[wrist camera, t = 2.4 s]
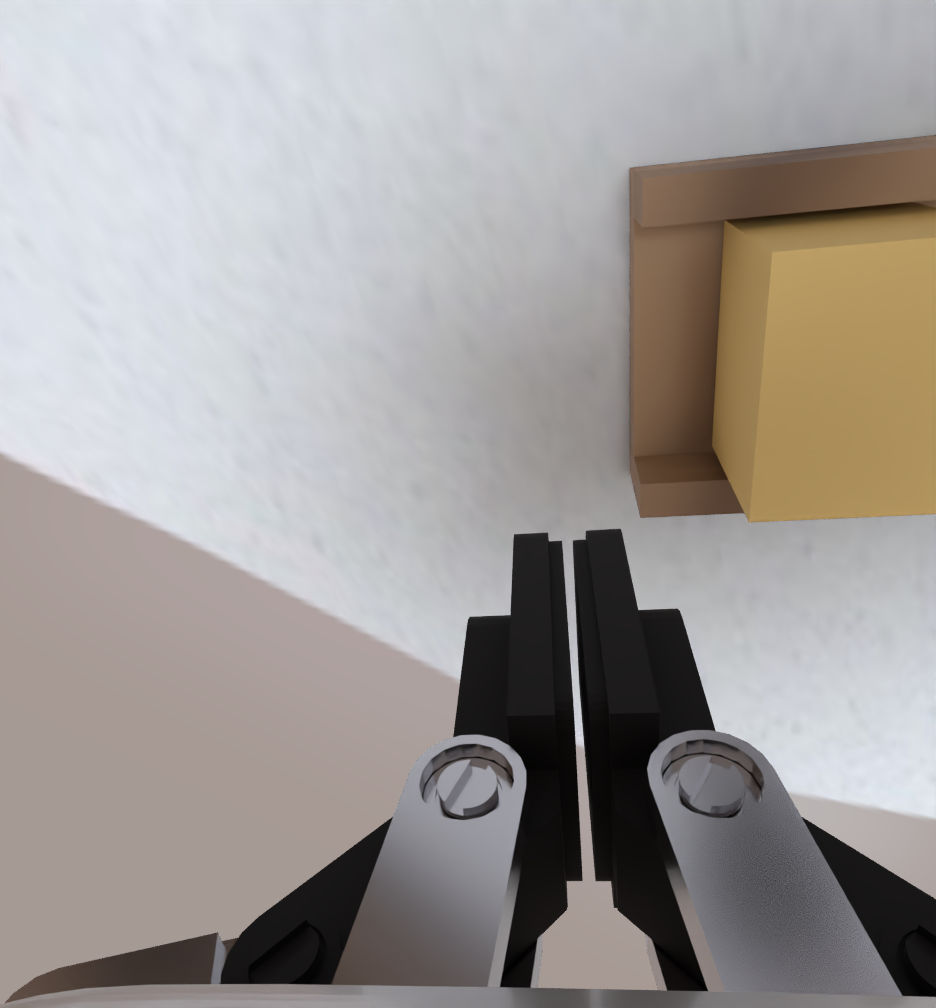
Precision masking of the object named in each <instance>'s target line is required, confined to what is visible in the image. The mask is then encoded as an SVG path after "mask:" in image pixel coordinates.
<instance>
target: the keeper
mask: <svg viewBox="0 0 936 1008" xmlns="http://www.w3.org/2000/svg"><path fill="white" fill-rule="evenodd" d="M712 447H713V449H714V451H715V453H716V455H717V457H718V459H719V461H720V463H721V465H722V468H723V470H724V472H725V474H726V476H727V478H728V480H729V482H730V484H731V486H732V488H733V490H734V492H735V494H736V496H737V499H738V501H739V503H740V505H741V507H742V509H743V511H744V513H745V515H746V517H747V519H748V521H749V522H768V521H790V520H813V519H835V518H857V517H880V516H902V515H924V514H936V208H934V207H930V206H927V205H923V204H920V203H916V202H905V203H895V204H884V205H874V206H864V207H853V208H843V209H832V210H822V211H812V212H801V213H791V214H781V215H770V216H760V217H749V218H739V219H729V220H724V238H723V256H722V274H721V292H720V310H719V328H718V346H717V364H716V382H715V400H714V418H713V436H712Z"/></svg>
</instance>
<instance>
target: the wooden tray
mask: <svg viewBox="0 0 936 1008" xmlns="http://www.w3.org/2000/svg"><path fill="white" fill-rule="evenodd" d="M905 202H916V203H920V204H923V205H927V206H930V207H934V208H936V135H933V136H923V137H914V138H905V139H895V140H886V141H877V142H867V143H858V144H849V145H839V146H830V147H820V148H811V149H802V150H792V151H783V152H774V153H764V154H755V155H746V156H736V157H727V158H718V159H708V160H699V161H690V162H680V163H671V164H662V165H652V166H643V167H634V168H630V474H631V479H632V483H633V487H634V492H635V496H636V500H637V505H638V509H639V513H640V518H646V517H667V516H689V515H710V514H732V513H744V511H743V509H742V507H741V505H740V503H739V501H738V499H737V496H736V494H735V492H734V490H733V488H732V486H731V484H730V482H729V480H728V478H727V476H726V474H725V472H724V470H723V468H722V465H721V463H720V461H719V459H718V457H717V455H716V453H715V451H714V449H713V447H712V436H713V418H714V400H715V382H716V364H717V346H718V328H719V310H720V292H721V274H722V256H723V238H724V220H729V219H739V218H749V217H760V216H770V215H781V214H791V213H801V212H812V211H822V210H832V209H843V208H853V207H864V206H874V205H884V204H895V203H905Z"/></svg>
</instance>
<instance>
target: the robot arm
mask: <svg viewBox="0 0 936 1008" xmlns="http://www.w3.org/2000/svg"><path fill="white" fill-rule="evenodd" d="M573 557H574V579H575V601H576V623H577V645H578V667H579V685H580V699H581V711H582V723H583V735H584V747H585V758H586V771H587V783H588V793H589V794H588V795H589V808H590V820H591V831H592V844H593V856H594V868H595V879H596V881H611V884H612V894H613V903H614V908H618V911H619V912H621V913H622V914H623V915H624V916H625V917H627V918H628V919H629V920H630V921H631V922H632V923H633V924H634V925H636V926H637V927H638V928H639V929H640V930H641V931H643V932H644V933H645V938H646V946H647V953H648V956H649V960H650V964H651V967H652V971H653V974H654V978H655V981H656V985H657V988H658V990H613V989H612V990H611V989H560V988H537V986H538V979H539V971H540V965H541V957H542V934H543V933H544V932H545V931H546V930H547V929H548V928H549V927H550V926H551V925H552V924H553V923H554V922H555V921H556V920H557V919H558V918H559V917H560V916H561V915H562V914H563V913H564V912H565V911H566V910H567V907H568V903H567V881H582V861H581V844H580V843H581V841H580V822H579V804H578V803H579V802H578V783H577V764H576V744H575V725H574V708H573V693H572V678H571V664H570V650H569V635H568V621H567V607H566V592H565V578H564V564H563V549H562V541H551V542H549V540H548V533H532V534H514V546H513V570H512V594H511V615H506V616H481V617H469V619H468V624H467V631H466V639H465V647H464V655H463V663H462V671H461V679H460V688H459V696H458V705H457V713H456V720H455V728H454V736H453V738H449V739H445V740H443V741H441V742H439V743H438V744H436V745H434V746H432V747H430V748H429V749H428V750H427V751H426V752H425V753H424V754H422V755H421V756H420V757H419V758H418V759H417V760H416V762H415V764H414V766H413V768H412V769H411V771H410V773H409V775H408V778H407V781H406V783H405V786H404V789H403V791H402V794H401V797H400V800H399V802H398V805H397V808H396V810H395V813H394V816H393V817H392V818H391V819H389V820H388V821H387V822H385V823H384V824H382V825H381V826H380V827H378V828H377V829H376V830H375V831H373V832H372V833H370V834H369V835H368V836H366V837H365V838H364V839H362V840H361V841H360V842H358V843H357V844H356V845H354V846H353V847H352V848H350V849H349V850H348V851H346V852H345V853H344V854H342V855H341V856H340V857H338V858H337V859H336V860H334V861H333V862H332V863H330V864H329V865H328V866H326V867H325V868H324V869H322V870H321V871H320V872H318V873H317V874H316V875H314V876H313V877H312V878H310V879H309V880H307V881H306V882H305V883H303V884H302V885H301V886H299V887H298V888H297V889H295V890H294V891H293V892H291V893H290V894H289V895H287V896H286V897H285V898H283V899H282V900H281V901H279V902H278V903H277V904H275V905H274V906H273V907H271V908H270V909H269V910H267V911H266V912H265V913H263V914H262V915H261V916H259V917H258V918H257V919H256V920H255V921H254V922H253V923H252V924H251V925H250V926H248V927H247V929H245V930H244V931H243V932H242V933H241V935H240V936H239V938H235V939H230V940H225V941H221V938H220V936H219V934H218V933H213V934H209V935H204V936H200V937H196V938H191V939H186V940H182V941H178V942H173V943H168V944H164V945H160V946H155V947H151V948H146V949H142V950H137V951H133V952H128V953H124V954H119V955H115V956H111V957H106V958H102V959H97V960H92V961H88V962H84V963H79V964H75V965H71V966H66V967H61V968H58V969H55V970H53V971H50V972H48V973H45V974H43V975H40V976H37V977H36V978H34V979H33V980H31V981H30V982H29V983H27V984H26V985H24V986H23V987H21V988H20V989H19V990H17V991H16V992H14V993H13V994H12V995H11V996H10V998H9V999H8V1000H7V1001H6V1002H5V1003H4V1004H0V1008H936V899H934V898H933V897H931V896H930V895H928V894H926V893H925V892H923V891H921V890H920V889H918V888H917V887H915V886H913V885H912V884H910V883H908V882H907V881H905V880H904V879H902V878H900V877H899V876H897V875H895V874H894V873H892V872H890V871H889V870H887V869H886V868H884V867H882V866H881V865H879V864H877V863H876V862H874V861H873V860H871V859H869V858H868V857H866V856H864V855H863V854H861V853H860V852H858V851H856V850H855V849H853V848H851V847H850V846H848V845H846V844H845V843H843V842H842V841H840V840H838V839H837V838H835V837H834V836H832V835H830V834H829V833H827V832H825V831H824V830H822V829H820V828H819V827H817V826H816V825H814V824H812V823H811V822H809V821H808V820H806V819H804V818H803V817H801V816H800V814H799V812H798V810H797V809H796V807H795V805H794V803H793V801H792V800H791V798H790V796H789V794H788V793H787V791H786V789H785V787H784V786H783V784H782V782H781V780H780V778H779V777H778V775H777V773H776V771H775V770H774V768H773V767H772V765H771V764H770V763H769V762H768V760H767V759H766V758H765V756H764V755H763V754H762V753H761V752H759V751H758V750H757V749H755V748H754V747H753V746H751V745H750V744H749V743H747V742H745V741H743V740H741V739H739V738H736V737H734V736H732V735H730V734H726V733H721V732H716V731H715V728H714V724H713V721H712V717H711V714H710V711H709V707H708V704H707V700H706V697H705V694H704V690H703V687H702V683H701V680H700V677H699V673H698V670H697V666H696V663H695V660H694V656H693V653H692V649H691V646H690V643H689V639H688V636H687V632H686V629H685V626H684V622H683V619H682V616H681V613H680V611H679V610H678V609H659V610H638V607H637V602H636V598H635V593H634V588H633V583H632V579H631V574H630V569H629V564H628V560H627V555H626V550H625V545H624V541H623V536H622V532H621V529H609V530H590V531H586V540H573Z"/></svg>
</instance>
